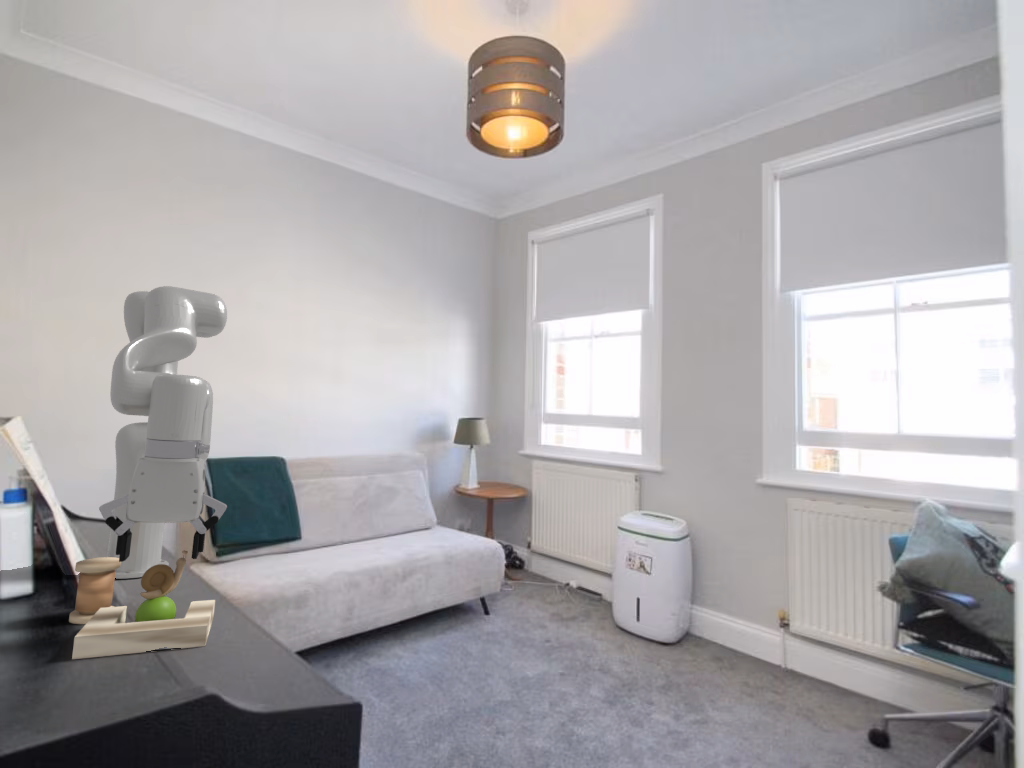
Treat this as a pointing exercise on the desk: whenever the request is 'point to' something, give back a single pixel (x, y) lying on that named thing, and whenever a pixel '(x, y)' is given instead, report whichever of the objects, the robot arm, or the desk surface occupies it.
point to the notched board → (142, 632)
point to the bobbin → (94, 587)
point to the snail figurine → (159, 592)
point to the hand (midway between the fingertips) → (160, 558)
